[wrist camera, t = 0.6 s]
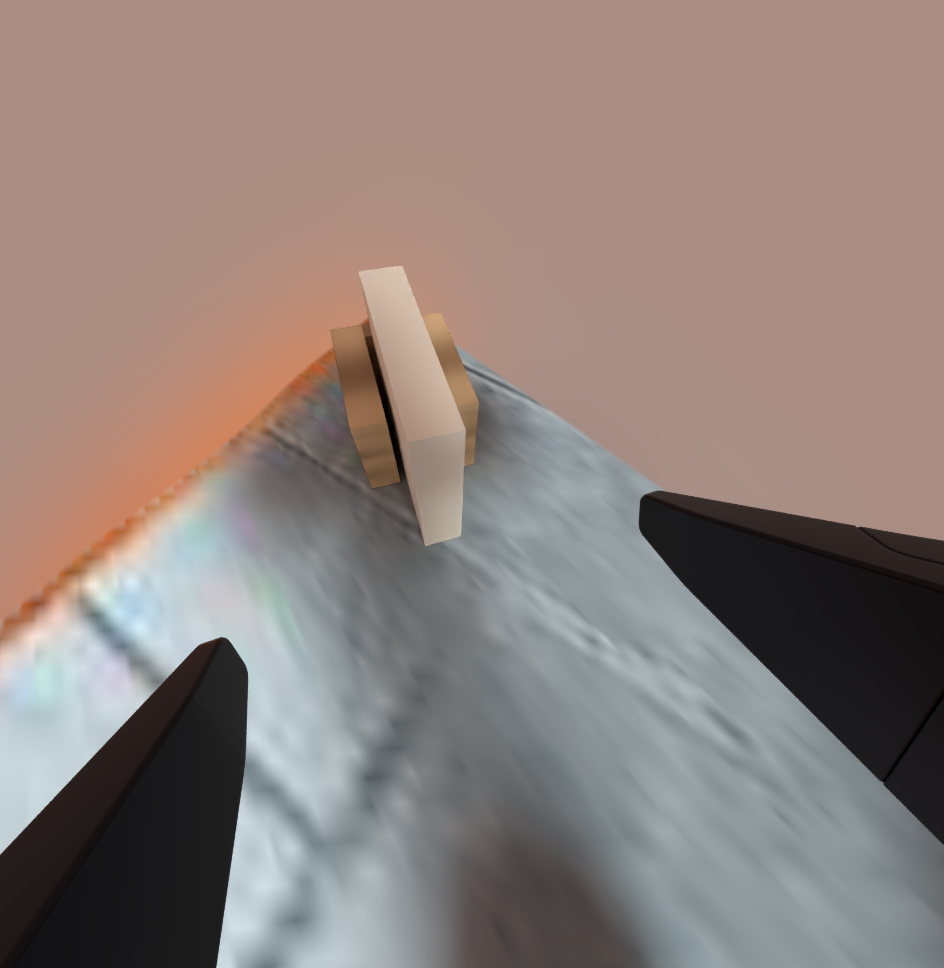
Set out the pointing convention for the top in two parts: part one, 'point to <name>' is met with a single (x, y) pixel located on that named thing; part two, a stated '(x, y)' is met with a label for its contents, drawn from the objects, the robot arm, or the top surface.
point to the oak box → (369, 396)
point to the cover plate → (417, 403)
